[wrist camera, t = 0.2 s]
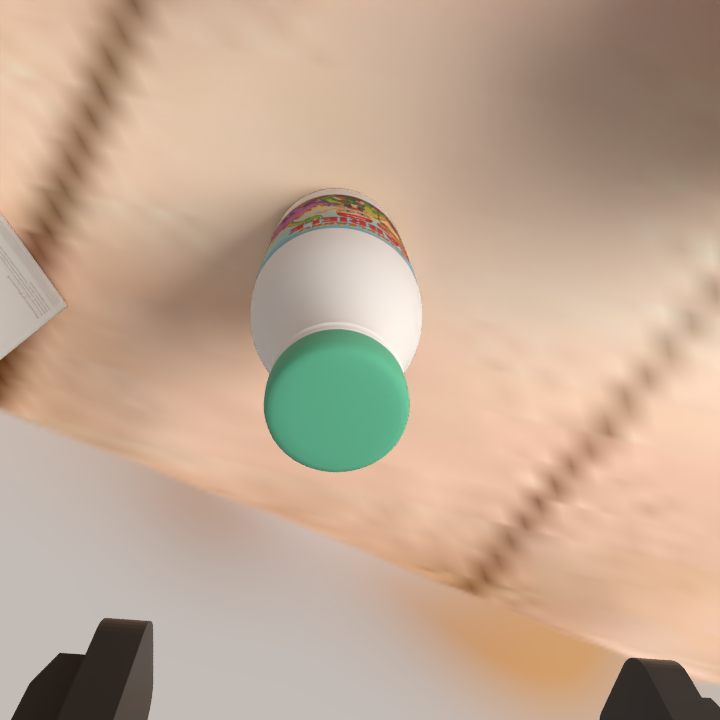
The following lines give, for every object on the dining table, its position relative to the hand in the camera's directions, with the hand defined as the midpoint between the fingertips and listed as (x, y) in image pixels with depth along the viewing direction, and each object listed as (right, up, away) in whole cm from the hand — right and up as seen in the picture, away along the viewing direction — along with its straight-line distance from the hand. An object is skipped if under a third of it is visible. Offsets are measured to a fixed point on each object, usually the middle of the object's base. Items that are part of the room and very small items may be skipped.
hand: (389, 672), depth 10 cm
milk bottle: (-2, +12, +27) cm, 29 cm away
